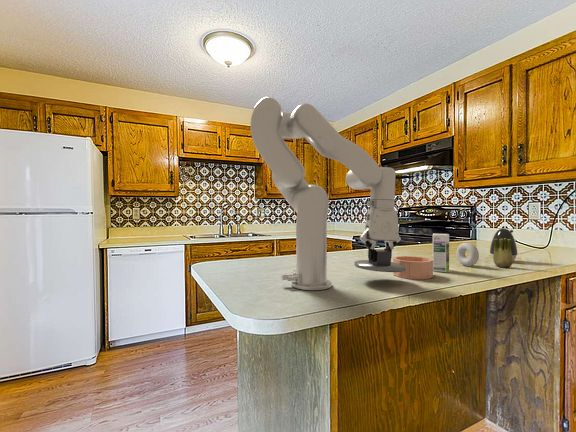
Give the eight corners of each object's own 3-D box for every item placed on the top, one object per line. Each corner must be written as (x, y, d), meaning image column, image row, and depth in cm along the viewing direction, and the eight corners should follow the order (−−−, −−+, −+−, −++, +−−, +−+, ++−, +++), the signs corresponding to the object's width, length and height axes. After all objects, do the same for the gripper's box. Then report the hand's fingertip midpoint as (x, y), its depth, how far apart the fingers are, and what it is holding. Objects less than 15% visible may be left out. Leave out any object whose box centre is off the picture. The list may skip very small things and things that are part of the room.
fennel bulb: (492, 266, 120) (492, 238, 120) (497, 265, 123) (498, 237, 122) (508, 269, 115) (508, 239, 115) (514, 267, 118) (514, 238, 117)
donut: (481, 268, 117) (481, 243, 117) (474, 268, 116) (474, 243, 116) (460, 263, 127) (460, 241, 127) (454, 264, 126) (454, 241, 126)
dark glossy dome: (523, 262, 129) (523, 228, 129) (505, 263, 127) (505, 229, 127) (501, 259, 139) (502, 227, 139) (484, 259, 137) (484, 228, 136)
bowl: (408, 280, 96) (408, 262, 96) (386, 272, 109) (386, 256, 109) (440, 278, 100) (440, 261, 100) (415, 270, 112) (415, 255, 112)
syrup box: (432, 271, 111) (432, 234, 111) (432, 268, 116) (432, 232, 116) (449, 272, 108) (449, 234, 108) (448, 270, 114) (448, 233, 113)
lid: (370, 272, 85) (371, 253, 84) (346, 262, 100) (346, 247, 100) (416, 271, 89) (417, 254, 88) (386, 262, 104) (387, 247, 104)
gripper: (364, 204, 88) (361, 263, 89) (411, 206, 93) (409, 263, 93) (352, 204, 96) (350, 259, 96) (397, 207, 100) (395, 259, 100)
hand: (379, 260), depth 94 cm, fingers closed on lid, 5 cm apart
